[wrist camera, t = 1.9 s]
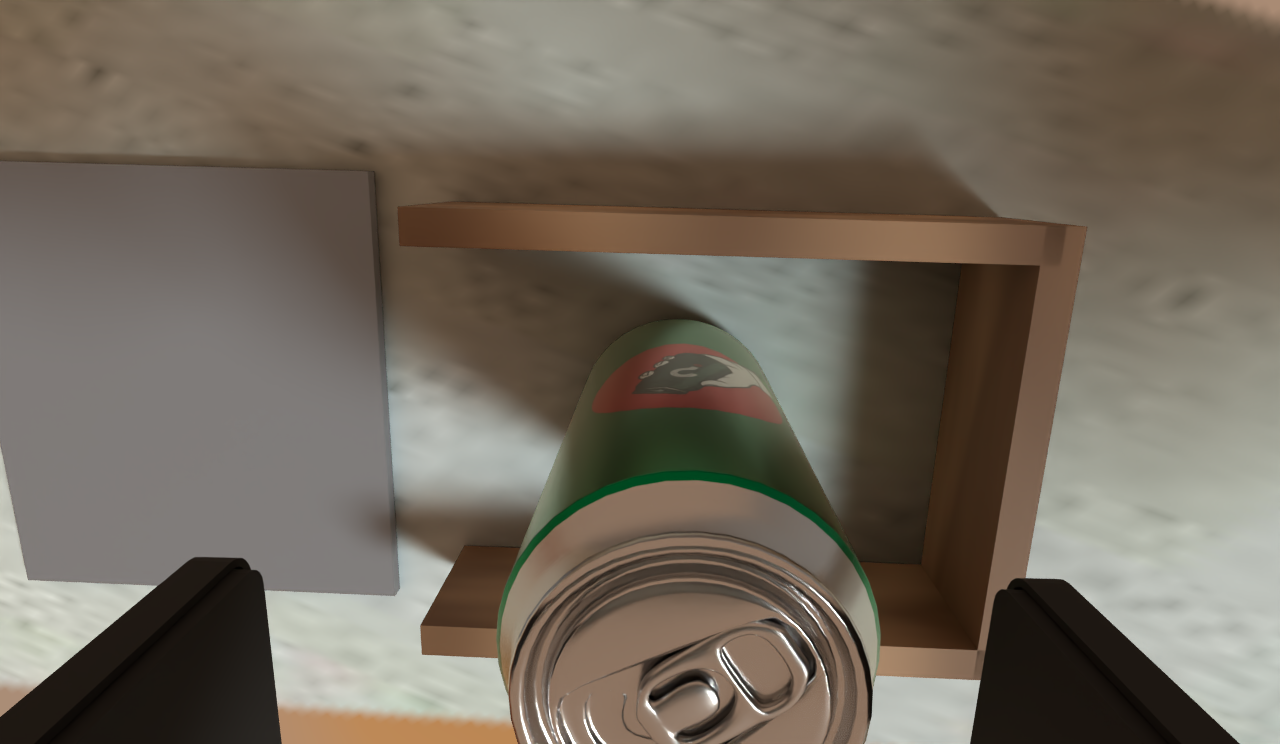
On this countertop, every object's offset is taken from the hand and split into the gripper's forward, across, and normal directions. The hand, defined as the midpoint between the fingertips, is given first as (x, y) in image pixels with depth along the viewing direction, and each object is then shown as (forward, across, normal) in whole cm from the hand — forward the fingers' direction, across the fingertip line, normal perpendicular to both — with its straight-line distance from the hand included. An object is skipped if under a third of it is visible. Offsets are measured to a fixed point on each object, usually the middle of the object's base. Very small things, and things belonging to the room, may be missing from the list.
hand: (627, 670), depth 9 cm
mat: (+12, +12, 0) cm, 17 cm away
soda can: (+12, -1, 0) cm, 12 cm away
